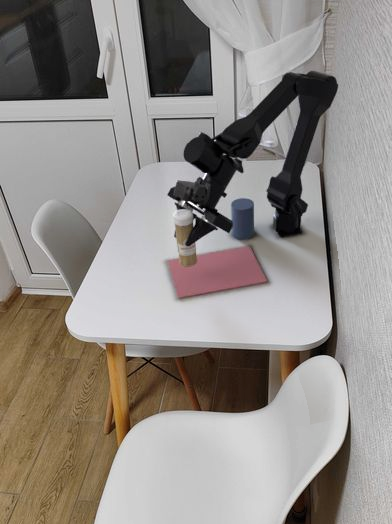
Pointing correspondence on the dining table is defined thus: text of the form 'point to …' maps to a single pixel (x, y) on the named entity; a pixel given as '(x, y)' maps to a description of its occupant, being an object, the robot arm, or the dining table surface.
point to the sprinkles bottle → (184, 237)
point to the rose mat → (217, 272)
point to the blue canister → (242, 218)
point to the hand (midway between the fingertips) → (181, 241)
